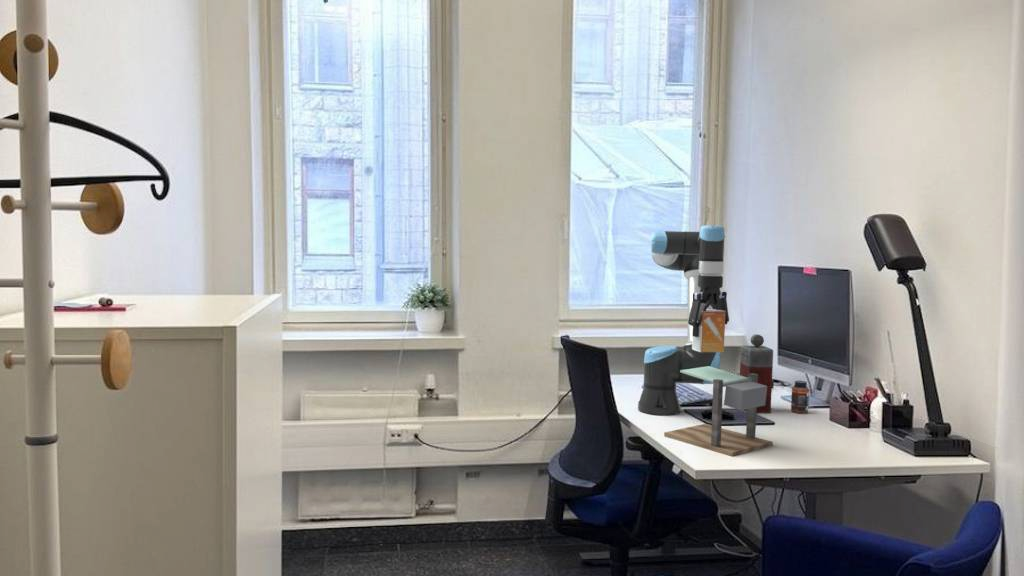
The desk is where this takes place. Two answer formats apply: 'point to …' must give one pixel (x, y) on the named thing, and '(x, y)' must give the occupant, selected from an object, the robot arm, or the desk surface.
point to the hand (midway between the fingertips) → (708, 345)
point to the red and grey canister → (758, 367)
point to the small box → (712, 331)
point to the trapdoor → (733, 387)
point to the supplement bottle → (800, 397)
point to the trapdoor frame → (719, 437)
